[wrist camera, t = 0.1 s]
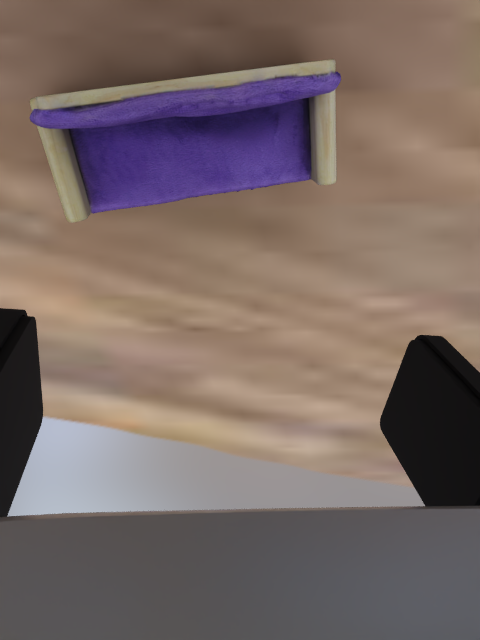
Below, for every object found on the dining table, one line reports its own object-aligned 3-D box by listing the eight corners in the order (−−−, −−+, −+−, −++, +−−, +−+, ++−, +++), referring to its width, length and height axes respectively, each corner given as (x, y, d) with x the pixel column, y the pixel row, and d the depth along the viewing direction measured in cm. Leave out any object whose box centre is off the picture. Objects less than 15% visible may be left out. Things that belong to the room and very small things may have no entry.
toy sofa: (81, 203, 39) (55, 242, 30) (49, 93, 35) (7, 100, 26) (314, 169, 40) (354, 197, 31) (311, 59, 36) (357, 54, 27)
